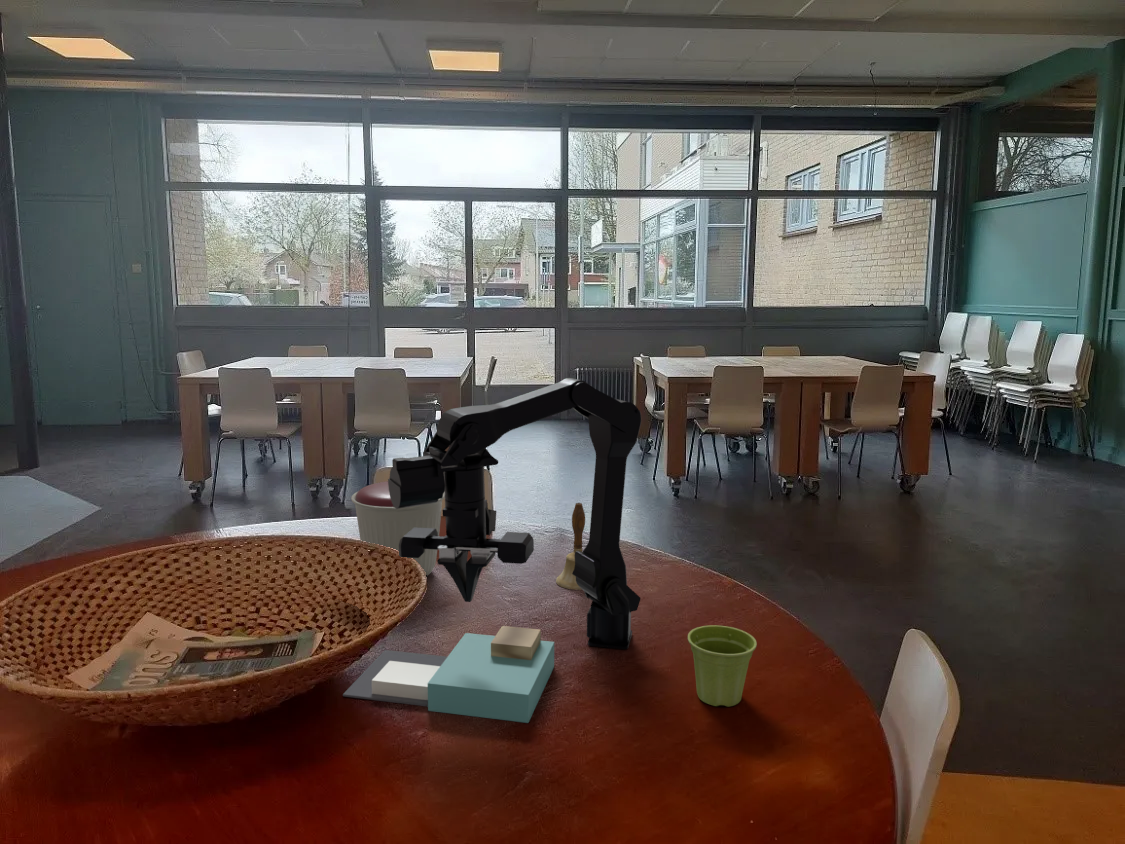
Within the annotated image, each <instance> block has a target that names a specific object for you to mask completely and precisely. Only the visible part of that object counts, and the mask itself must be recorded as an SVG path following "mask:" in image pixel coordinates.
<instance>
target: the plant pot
mask: <svg viewBox="0 0 1125 844" xmlns="http://www.w3.org/2000/svg"><path fill="white" fill-rule="evenodd" d="M687 641H688V643H689V645H690V649H691V651H692V654H693V664H694V675H695V684H696V685H695V686H696V694H697V697H698V698H699V700H701V702H703V703H705V704H708V705H711V706H713V707H719V706H725V707H733V706H736V705H738V704H739V703H740V702H741V701H742V696H743V692H744V686H745V683H746V677H747V673H748V669H749V665H750V664H749V663H750V660H751V659H752V656H753V653H754V651H755V650H756V649H757V646H758V645H757V644H758V643H757V640H756V638H755V637H754V636H753V635H752V634H750V633H749V632H746V631H745V630H742V629H740V628H736V627H733V626H725V625H715V624H714V625H703V626H697V627H695V628H693V629H691V630H690V631H689V632H688V634H687Z"/></svg>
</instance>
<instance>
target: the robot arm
mask: <svg viewBox="0 0 1125 844" xmlns="http://www.w3.org/2000/svg"><path fill="white" fill-rule="evenodd" d="M569 410H575V411H576V412H577V413H578V414H580V416H581V415H582V416H583V417H584V418H586V419H587V420H588V432H589V437H590V439H591V443H592V445H593V449H594V452H595V464H594V473H593V474H594V475H593V476H594V477H593V487H592V500H591V501H592V502H591V511H590V513H591V515H590V525H589V526H590V527H589V536H588V537H589V538H588V543H587V545H586V546H585V547H584V549H582V551H576V552H575V567H574V570H573V573H572V574H573V575H574V576H576V583H577V585H578V586H579V587H580V588H581V589H582V591H583V592H584V595H585V597H586V598H587V599H589V600H591V601H592V602H591V604H590V607H589V609H588V611H587V613H586V637H587V638H588V641H587V645H588V646H590V647H597V648H598V647H599V648H609V649H619V650H628V649H629V648H630V647H629V646H630V643H631V639H632V636H633V630H632V629H631V627H632V626H631V622H632V612H636V611H638V608H639V607H640V606H639V605H640V602H641V597H640V595H638V594H637V593H636V592H635V591H634V590H633V589H632V588H630V586H628V582H627V581H628V579H627V578H628V576H627V565H626V563H625V559H624V556H623V554H622V550H621V547H620V546H621V545H620V540H621V531H622V530H621V529H622V516H623V507H624V506H623V505H624V493H625V481H626V471H627V470H626V469H627V459H628V456H629V455H630V453H631V452H632V450H633V448H634V447H635V445H636V443H637V442H638V437H639V434H640V429H641V425H642V412H641V410H640V409H639V408H638V407H637V405H636V404H634V403H633V402H630V401H627V400H622V399H617V398H614V397H612V396H610V395H608V394H606V393H604V392H602V391H600V390H599V389H597V388H595V387H594V386H592V385H591V384H589V383H588V382H587V381H586V380H582V379H578V378H577V379H576V378H572V377H567V378H564V379H562V380H561V381H559V382H557V383H553V384H550V385H548V386H543V387H541V388H539V389H535V390H532V391H530V392H527V393H524V394H520V395H518V396H515V397H513V398H509V399H506V400H503V401H500V402H497V403H493V404H484V405H482V404H481V405H469V406H462V407H456V408H455V407H454V408H450V409H448V410H446V411H445V412H443V413H442V414H441V415H440V418H439V420H438V422H437V427H436V431H435V433H434V435H433V436H432V438H431V440H430V441H429V443H428V444H427V446H426V448H425V449H424V450H423V452H422V456H414V457H394V458H392V460H391V463H392V467H391V468H390V471H389V477H390V479H389V478H387V481H388V487H389V494H390V498H391V501H392V504H393V506H394V507H395V508H396V509H399V508H405V507H412V506H418V505H425V504H431V503H436V502H437V501H438V500H439V499H440V498H442V497H443V493H445V498H444V508H443V509H441V512H442V517H443V518H444V517H445V530H446V531H445V533H446V534H445V535H444V536H440V535H439V536H438V532H437V530H436V529H435V528H413V529H412V530H411V531H409V532H408V533H407V534H406V535H405V536H403V537H402V538H401V539H400V542H399V556H400V557H407V558H419V557H420V556H421V555H422V554H423V553H424V552H425V549H436V550H437V551H439V552H438V559H436V562H437V564H438V565H440V566H441V565H442V566H443V567H444V568H445V570H446V571H447V573H448V574H449V576H450V577H451V578H452V579H453V583H454V584H455V586H456V588H457V590H458V591H459V593H460V595H461V597H462V598H463V601H464V602H466V603H471V602H472V601H473V598H474V595H475V592H476V589H477V586H478V583H479V579H480V575H481V573H482V571H483V568H485V567H487V566H488V565H489V564H490V562H492V560H493V558H494V557H495V556H496V554H497V558H498V559H499V560H500V562H502V563H503V564H520V565H521V564H526V563H527V561H529V559H530V557H531V556H532V554H533V553H534V551H535V549H534V547H535V544H534V541H535V540H534V536H532V534H531V533H530V532H519V531H518V532H516V531H506V533H504V535H503V536H502V537H501V538H499V539H497V538H487V536H490V535H491V534H492V532H496V526H497V510H495V509H489V507H488V505H489V503H488V500H487V499H486V491H485V489H486V488H485V483H486V482H485V467H490V466H497V465H498V464H499V459H497V458H495V457H494V456H493V455H492V454H491V453H490V452H489V450H488V449H487V448H488V447H490V446H492V445H494V444H496V443H497V442H498V441H499V439H501V438H502V437H503V436H504V435H505V434H507V433H509V432H511V431H513V430H515V429H519V428H521V427H524V426H526V425H530V424H533V423H536V422H538V421H541V420H544V419H546V418H549V417H552V416H555V415H558V414H561V413H563V412H565V411H569ZM469 552H470V556H471V557H469V559H468V556H469V555H468V554H469Z"/></svg>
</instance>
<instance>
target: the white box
mask: <svg viewBox="0 0 1125 844" xmlns="http://www.w3.org/2000/svg"><path fill="white" fill-rule="evenodd" d="M439 668H440V666H433V665H424V664H415V663H406V662H397V661H389V662H388V663H387V664H386V665H385V666H384V667H383V669H382V670H381V671H380V672H379V673H378V674H377V675H376V676H375V677H374V678H373V679H372V694H380V695H388V696H396V697H405V698H413V699H421V700H428V682H429V681H430V679H431V678H432V677H433V675H434V674H435V673H436V671H437V670H438V669H439Z"/></svg>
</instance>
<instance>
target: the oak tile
mask: <svg viewBox="0 0 1125 844" xmlns="http://www.w3.org/2000/svg"><path fill="white" fill-rule="evenodd" d="M541 631H542V629H538V628H530V627H529V628H528V627H517V626H509V625H508V626H507V625H502V626H501V628H499V630H498V632H497V633H496V634H495V635H494V636H495V637H494V639H493V640H492V642H491V656H496V657H506V658H515V659H525V660H531V659H532V658H533V656H534V654H535V652H536V650H537V648H538V646H539V644H540V642H541V641H542V639H541V638H542V635H541V634H542V632H541Z"/></svg>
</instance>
